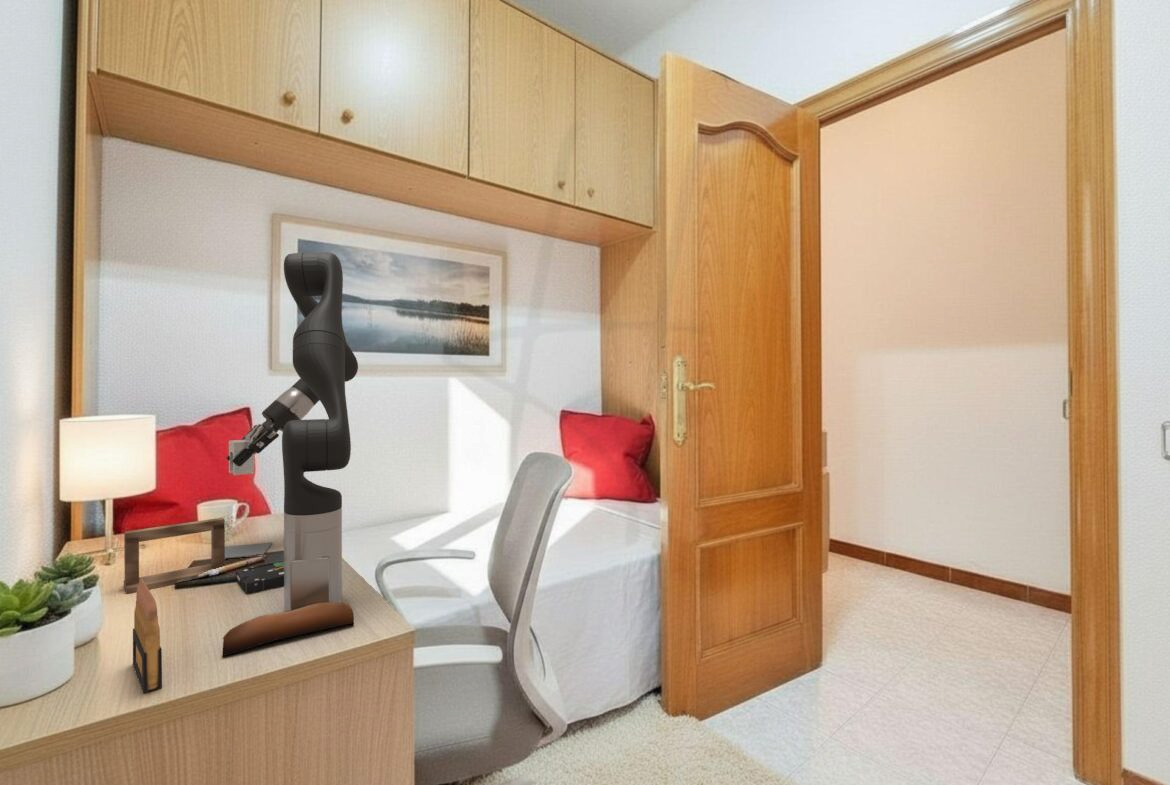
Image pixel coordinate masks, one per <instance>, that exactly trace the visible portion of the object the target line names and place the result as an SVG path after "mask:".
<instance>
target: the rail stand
mask: <svg viewBox="0 0 1170 785" xmlns="http://www.w3.org/2000/svg"><path fill="white" fill-rule="evenodd" d="M225 520H226V519H225V518H224V517H218V518H216V517H215V518H211V519H203V520H197V521H191V522H189V521H188V522H182V523H176V524H170V525H167V524H166V525H162V526H155V527H149V528H148V527H147V528H141V529H133V530H128V531H127V530H126V531H124V533H123V534H124V536H123V537H124V538H123V539H124V540H123V541H124V542H123V543H124V544H123V545H124V554H123V555H124V556H123V558H124V562H123V563H124V564H123V565H124V580H123V588H124V590H125V593H126V595H127V594H128V595H129V594H133V593H137V588H138V584H139V582H140V580H141V579H143V580H144V582H145V584H146V586H147V587H148V589H149V590H153V589H157V588H161V587H167V586H172V585H176V584H175V583H176V582H177V581H178V580H181V579H183V578H188V577H192V576H196V575H199V574H202V573H203V572H206V571H208V570H211V569H216V568H219V567H222V566H225V567H226V562H225V561H226V560H225V546H226V541H225V540H226V539H225V538H226V536H225V532H226V531H225V530H226V529H225V528H226V527H225V524H226V523H225V522H226V521H225ZM205 532H211V533H210V534H211V535H210V536H211V537H210V540H211V541H210V542H211V546H210V547H211V552H210V553H211V559H210V560H211V563H207V564H204V565H197V566H193V567H187V568H181V569H177V570H176V569H175V570H171V571H165V572H160V573H156V574H151V575H145V576H140V542H141V543H142V542H147V541H152V540H153V541H155V540H161V539H167V538H174V537H179V536H185V535H192V534H199V533H205Z"/></svg>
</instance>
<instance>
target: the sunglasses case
mask: <svg viewBox="0 0 1170 785" xmlns="http://www.w3.org/2000/svg"><path fill="white" fill-rule="evenodd" d="M354 623H355V615H354V611H353V607H351V606H350V605H349V603H346V602H345V603H344V602H342V603H318V604H312V605H308V606H305V607H302V608H298V609H295V610H291V609H290V610H285V611H283V612H275V613H270V614H269V613H268V614H262V615H259V616H257V617H254V618H251V619H248V620H246V621H243V622H242V623H240V624H237V625H236V626H234V627H232V628H231V629H229V630H228V631H227V632H226V633H225V634H224V636H223V637H222V641H223V642H222V656H221V657H222V658H223V657H225V656H227V655H233V654H235V653H237V652H238V653H239V652H242V651H245V650H249V649H251V648H252V649H253V648H256V647H258V646H260V645H265V644H269V643H271V642H273V641H276V640H284V639H287V638H292V637H296V636H297V637H298V636H300V635H303V634H308V633H314V632H319V631H322V630H326V629H331V628H337V627H341V626H344V625H350V624H351V626H354V625H353V624H354Z"/></svg>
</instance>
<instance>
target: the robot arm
mask: <svg viewBox="0 0 1170 785" xmlns="http://www.w3.org/2000/svg"><path fill="white" fill-rule="evenodd" d="M283 275H284V280H285V283H286V286H287V288H288V291H289V293H290V294H291V297H292V299H293V300H294V303H295V304H296V306H297V308H298V309H299V312H300V313H301V315H302V316H303V320H302V321H301V322H300V323H299V325H298V327H296V329H295V332H294V333H293V335H292V337H293V338H292V366H293V368H294V370H295V372H296V374H297V376H298V377H299V379H298V380H297V381H296V382H295V383H294V384H293V385H292V386H290V387H289V388H288V389H286V390H285V391H284V392H282V393H281V394H280V395H279V396H278V397H277V398H276V399H275V400H274V401H272V403H270V404H269V405H268V406H267V407H266V408H265V409H264V410H263V411H261V415H262V417H263V418H264V419H265V421H263V422H262V423H258V424H255V425H253V427H252V428H251V429H250V430H249V431H248V432H247V433H246V434H245V435H244V436H243V437H242V438H241V439H240V440H250V443H249V444H248V445H247V446H246V447H245V448H246V449H243V450H242V451H241V452H240V453H239V454H238V455H237V456H236V457H235V458H234V459H233V460H232V462H233V463H235V464H236V465H237V466H242V465H243V464H244V463H245V462H246V461H247V460H248V459H249V458H250V457H251V456H252V454H253V455H254V456H255V455H257V454H260V453H261V452H262V451H263V450H265V449H266V448H267V447H268V446H269V445H270V444H271V443H273V442H274V441H275V440H276V439H278V438H279V436H280V434H279V433H278V432H279V431H280V432H282V434H281V452H282V466H283V481H284V482H283V484H284V485H283V489H284V490H283V493H284V494H283V496H284V497H283V561H284V586H283V600H284V601H283V602H284V603H283V609H284V611H285V610H290V609H291V610H295V609H298V608H302V607H305V606H308V605H312V604H318V603H343V544H342V543H343V534H342V533H343V526H342V525H343V508H342V507H343V502H342V501H343V496H342V494H341V491H339V490H338V489H334V488H330V487H327V486H322V485H319V484H316V483H315V482H312V481H310V480H309V479H307V478H306V476H305V475H304V474H305V473H308V472H323V471H324V472H326V471H337V470H342V469H344V468H346V467H347V466H348V464H349V463H350V458H351V454H352V452H351V450H352V444H351V443H352V441H351V432H350V423H349V416H348V415H349V414H348V407H347V397H346V382H349V381H351V380H353V379H354V378H355V377H356V375H357V373H358V370H359V362H358V359H357V357H356V356H355V354H354V352H353V350H352V349H351V347H350V346H349V344H348V342H347V338H346V335H345V331H344V328H343V315H342V314H343V289H344V286H343V284H344V283H343V282H344V277H343V276H344V274H343V268H342V264H341V261H340V259H339V257H338V256H337V255H336V254H335V253H332V252H325V251H317V252H295V253H294V252H293V253H289V254H287V255H286V256H285V257H284V261H283ZM320 296H321V298H320V300H319V301H317V300H316V299H315V298H314V297H320ZM318 402H320V403H321V404H322V406H323V408H324V409H325V410H324V411H325V412H326V415H327V418H326V419H325V418H321V419H319V418H318V419H317V418H315V419H304V417H306V416H307V415H308V414H309V412H311V410H312V408H314V406H316V404H318ZM225 460H227V461H228V462H229V454H228V455H227V456H226V459H225ZM284 611H283V612H284Z"/></svg>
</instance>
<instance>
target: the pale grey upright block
mask: <svg viewBox="0 0 1170 785" xmlns="http://www.w3.org/2000/svg"><path fill="white" fill-rule="evenodd" d="M249 443H250V440H241V439H236V440H228V455H229V461H228V473H229V474H232V475H233V476H240V475H241V476H242V475H253V474H255V455H253V454H252V456H251V457H250V458H249V459H248V460H247V461H246V462H245V463H244V464H243V465H242V466H237V465H236V464H235V463H233V462H232V460H233V459H234V458H235V457H236V456H237V455H238V454H239V453H240V452H241V451H242V450H243V449H246V448H245V447H246V446H247V445H248V444H249Z"/></svg>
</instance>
